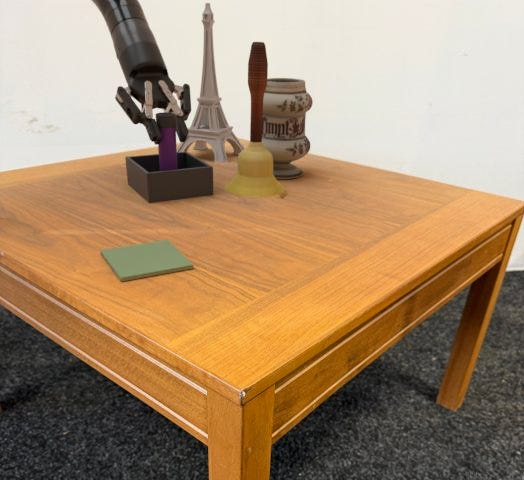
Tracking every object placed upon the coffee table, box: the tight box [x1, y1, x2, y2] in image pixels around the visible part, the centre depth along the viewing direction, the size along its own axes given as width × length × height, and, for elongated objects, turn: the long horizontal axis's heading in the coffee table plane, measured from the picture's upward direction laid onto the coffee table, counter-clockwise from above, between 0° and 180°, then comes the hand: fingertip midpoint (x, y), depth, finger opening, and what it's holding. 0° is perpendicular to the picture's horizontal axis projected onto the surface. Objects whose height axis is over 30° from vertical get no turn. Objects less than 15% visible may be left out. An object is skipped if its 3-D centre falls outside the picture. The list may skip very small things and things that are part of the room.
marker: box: [155, 111, 178, 171], centre depth 98 cm, size 3×3×13 cm
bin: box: [124, 151, 214, 204], centre depth 101 cm, size 12×12×6 cm
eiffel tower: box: [177, 2, 246, 163], centre depth 119 cm, size 13×13×30 cm
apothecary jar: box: [262, 77, 314, 180], centre depth 112 cm, size 12×12×18 cm
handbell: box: [224, 41, 287, 199], centre depth 98 cm, size 12×12×25 cm
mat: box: [99, 239, 194, 283], centre depth 76 cm, size 10×10×1 cm
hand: (171, 140), depth 95 cm, fingers open, 4 cm apart
